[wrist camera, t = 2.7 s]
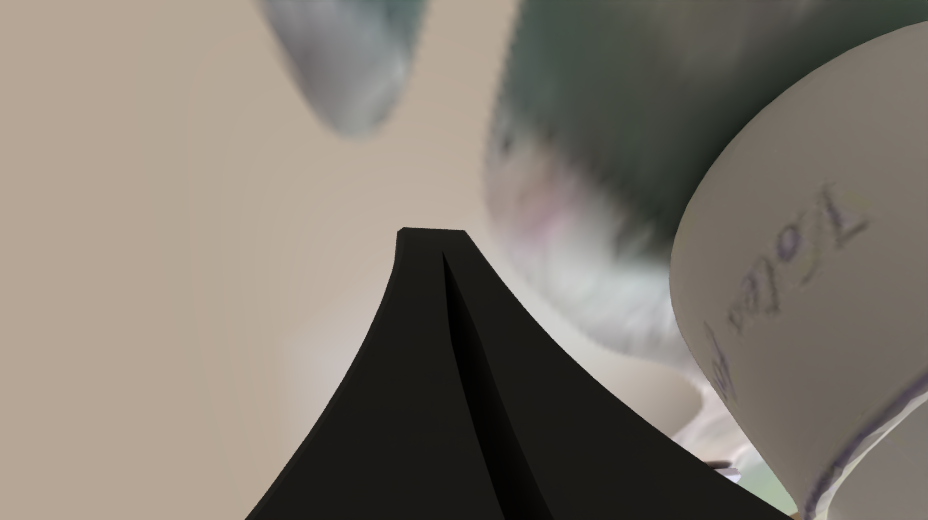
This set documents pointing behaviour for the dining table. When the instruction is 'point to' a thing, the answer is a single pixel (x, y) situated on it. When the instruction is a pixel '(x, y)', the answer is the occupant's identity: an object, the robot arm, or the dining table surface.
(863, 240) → the teacup
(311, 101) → the dining table surface
